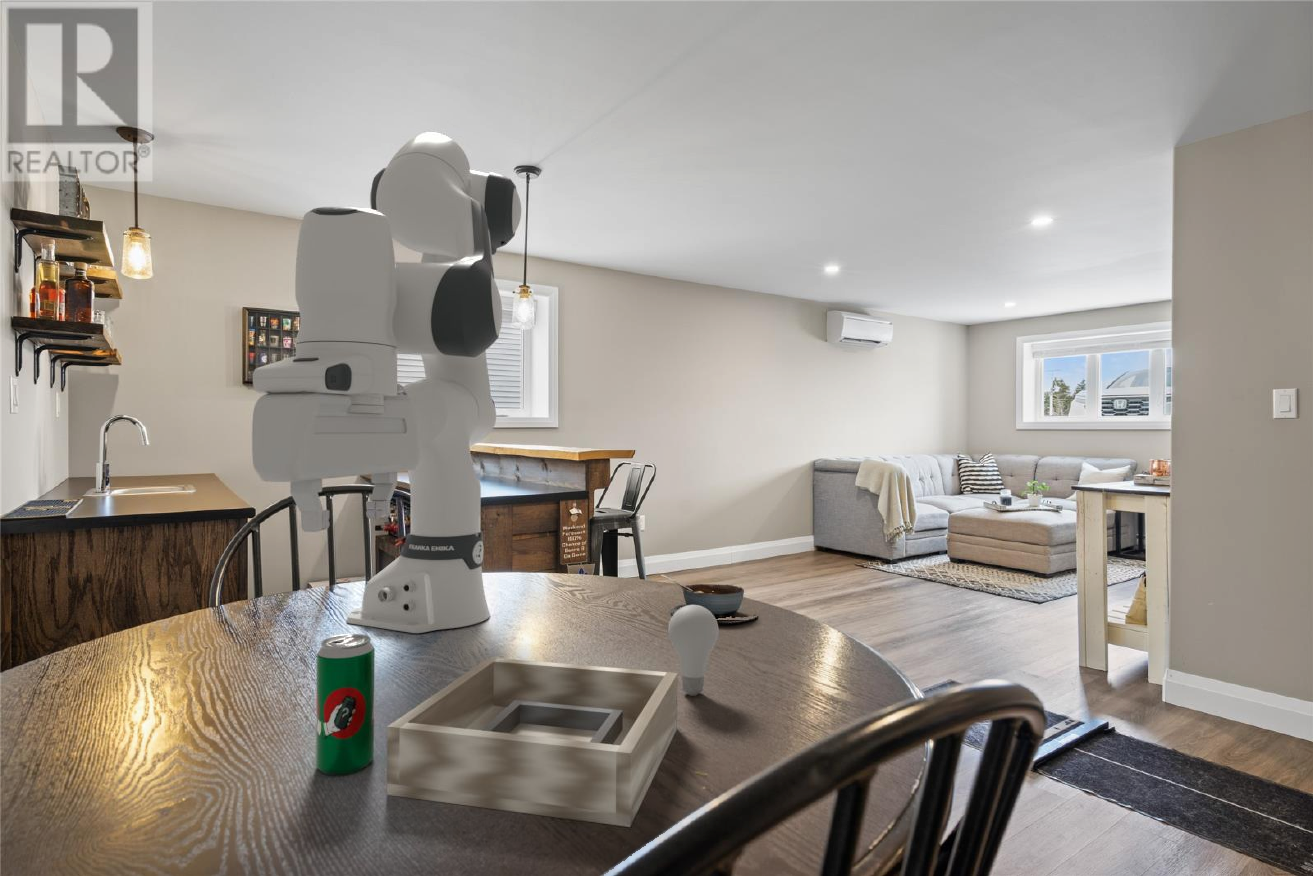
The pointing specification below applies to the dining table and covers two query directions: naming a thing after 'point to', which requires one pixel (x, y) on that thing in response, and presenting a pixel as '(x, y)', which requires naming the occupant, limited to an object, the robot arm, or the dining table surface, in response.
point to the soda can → (345, 704)
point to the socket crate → (537, 740)
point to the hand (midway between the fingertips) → (349, 524)
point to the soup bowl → (713, 599)
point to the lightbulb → (693, 644)
